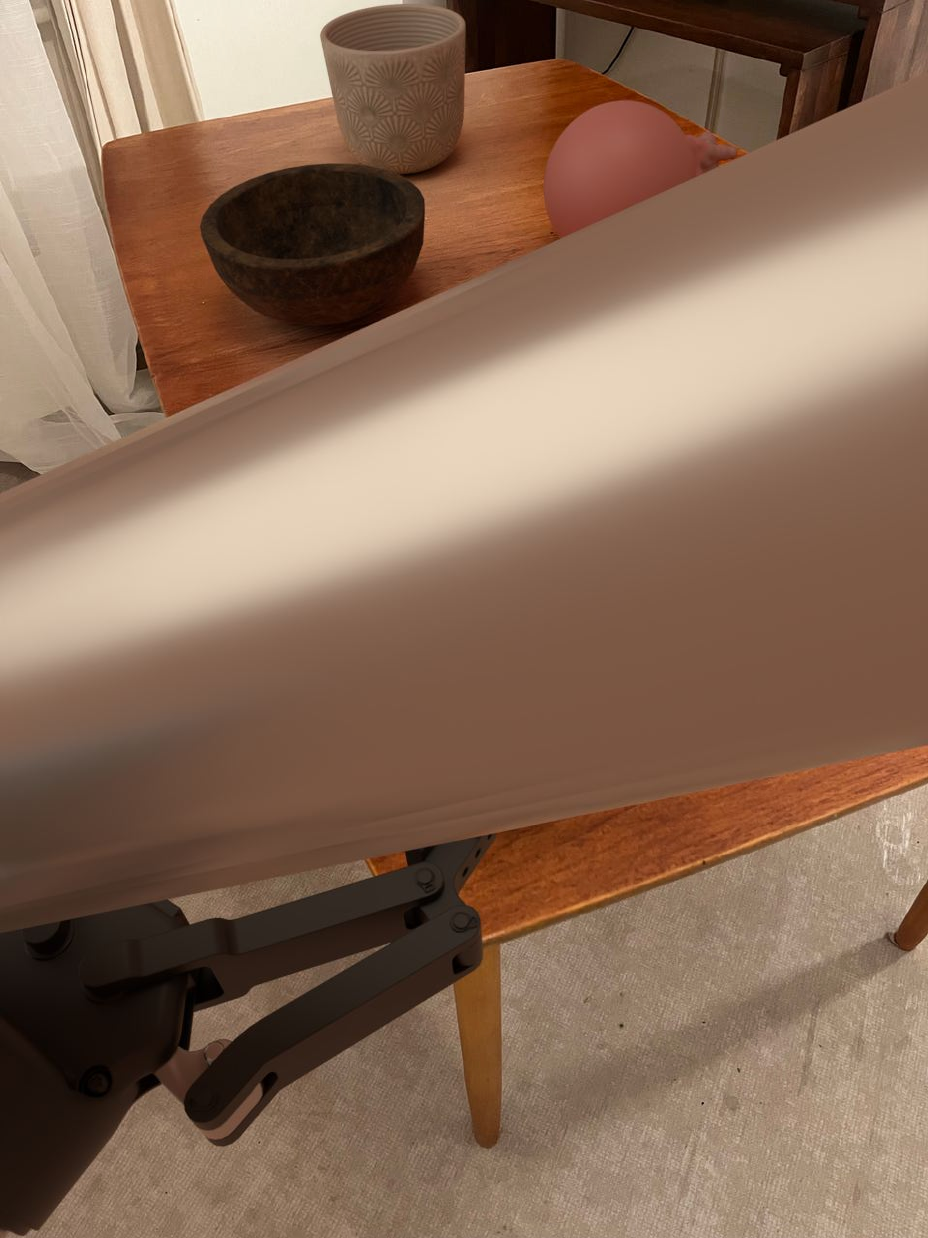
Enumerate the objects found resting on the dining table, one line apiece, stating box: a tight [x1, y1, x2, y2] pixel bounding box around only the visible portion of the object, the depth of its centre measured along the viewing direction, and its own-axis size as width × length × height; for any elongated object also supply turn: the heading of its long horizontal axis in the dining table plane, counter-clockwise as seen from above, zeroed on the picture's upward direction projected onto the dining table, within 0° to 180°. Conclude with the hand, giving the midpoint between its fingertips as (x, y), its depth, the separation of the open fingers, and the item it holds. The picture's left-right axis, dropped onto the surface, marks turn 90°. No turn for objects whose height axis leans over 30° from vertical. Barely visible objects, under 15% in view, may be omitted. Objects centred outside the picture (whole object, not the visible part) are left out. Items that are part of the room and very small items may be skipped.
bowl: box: [199, 162, 426, 327], centre depth 98 cm, size 22×22×10 cm
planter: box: [319, 3, 467, 175], centre depth 119 cm, size 17×17×15 cm
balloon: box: [543, 99, 739, 239], centre depth 100 cm, size 15×20×15 cm
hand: (367, 658), depth 39 cm, fingers open, 13 cm apart
